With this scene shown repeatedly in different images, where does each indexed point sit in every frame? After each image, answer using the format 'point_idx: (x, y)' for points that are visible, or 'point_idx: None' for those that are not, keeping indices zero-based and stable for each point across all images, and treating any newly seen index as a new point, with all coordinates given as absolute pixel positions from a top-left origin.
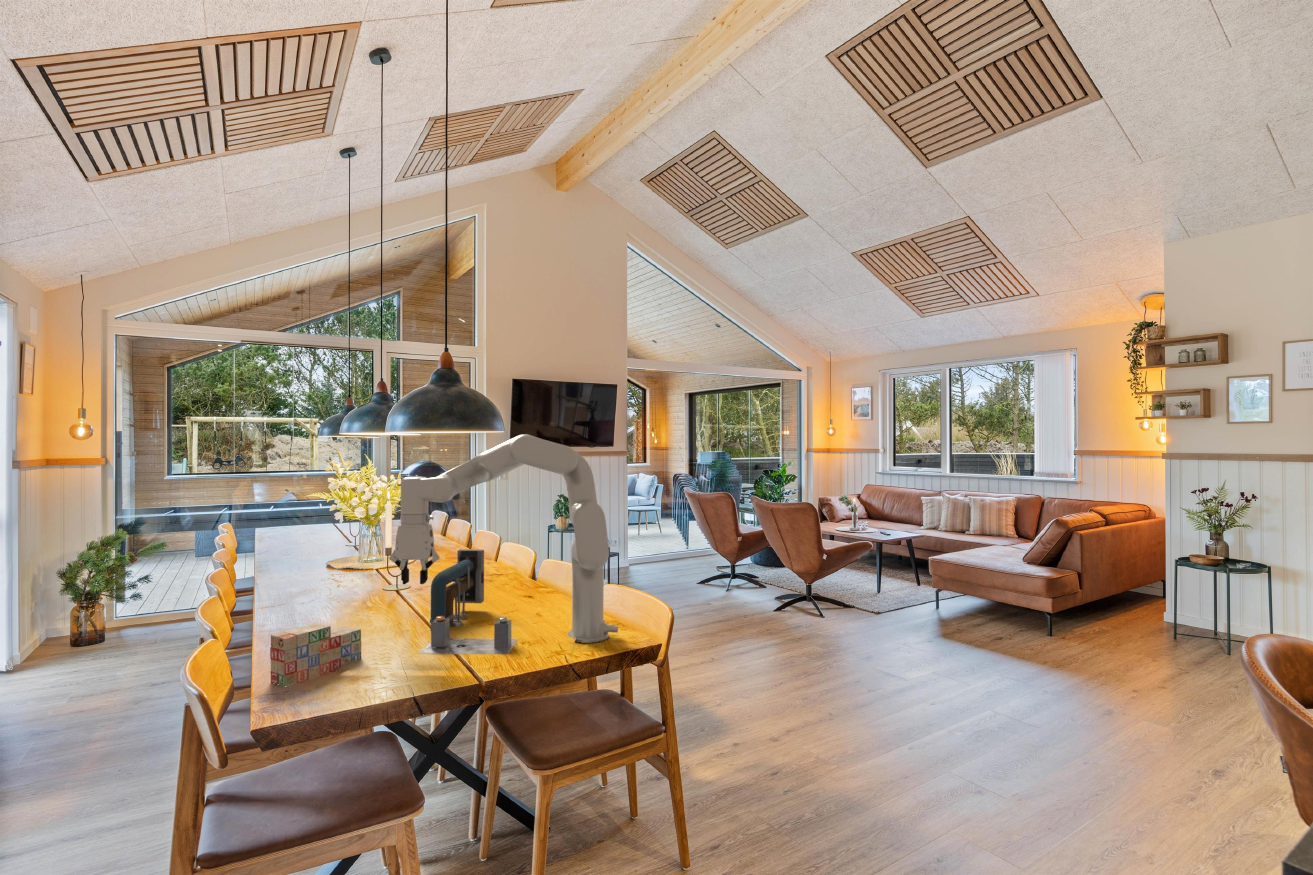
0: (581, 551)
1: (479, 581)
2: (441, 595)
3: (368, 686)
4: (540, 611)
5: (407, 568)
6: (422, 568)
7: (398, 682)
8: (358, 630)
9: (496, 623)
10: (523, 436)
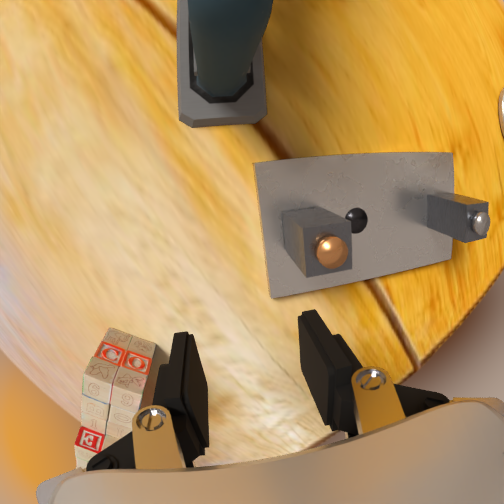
0: None
1: None
2: (254, 42)
3: (254, 425)
4: None
5: (187, 417)
6: (348, 433)
7: (294, 405)
8: (141, 398)
9: (468, 239)
10: None
